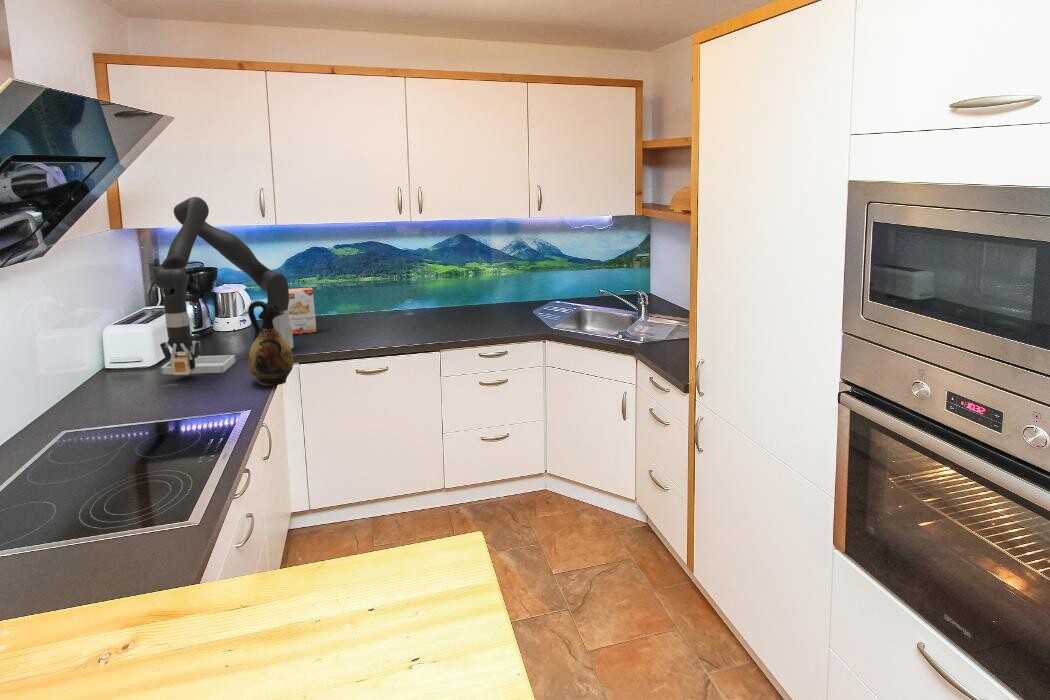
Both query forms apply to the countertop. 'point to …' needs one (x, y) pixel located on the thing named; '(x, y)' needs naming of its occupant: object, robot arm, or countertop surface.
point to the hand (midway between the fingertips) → (184, 368)
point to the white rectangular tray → (206, 364)
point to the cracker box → (301, 310)
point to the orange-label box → (181, 365)
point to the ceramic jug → (268, 348)
